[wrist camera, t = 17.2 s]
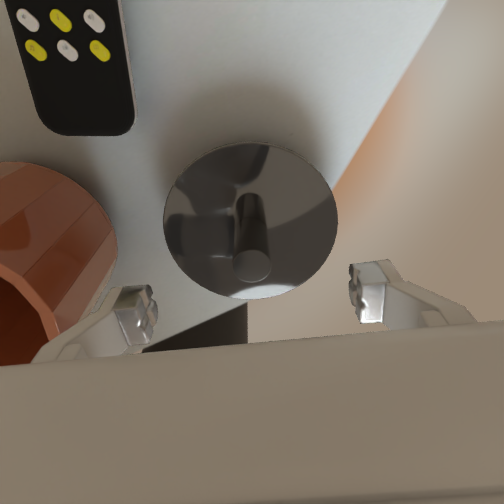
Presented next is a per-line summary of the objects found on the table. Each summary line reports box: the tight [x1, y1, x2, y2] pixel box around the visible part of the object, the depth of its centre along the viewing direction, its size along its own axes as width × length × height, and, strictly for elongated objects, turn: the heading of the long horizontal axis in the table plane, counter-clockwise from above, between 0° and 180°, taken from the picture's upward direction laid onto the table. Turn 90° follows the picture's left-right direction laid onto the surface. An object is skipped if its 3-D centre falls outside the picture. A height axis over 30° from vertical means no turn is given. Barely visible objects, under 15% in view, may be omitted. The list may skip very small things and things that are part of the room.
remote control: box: [4, 0, 138, 136], centre depth 20 cm, size 6×13×2 cm, turn 0°
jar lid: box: [163, 141, 338, 299], centre depth 26 cm, size 14×14×6 cm
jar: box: [0, 161, 118, 366], centre depth 24 cm, size 13×13×10 cm
